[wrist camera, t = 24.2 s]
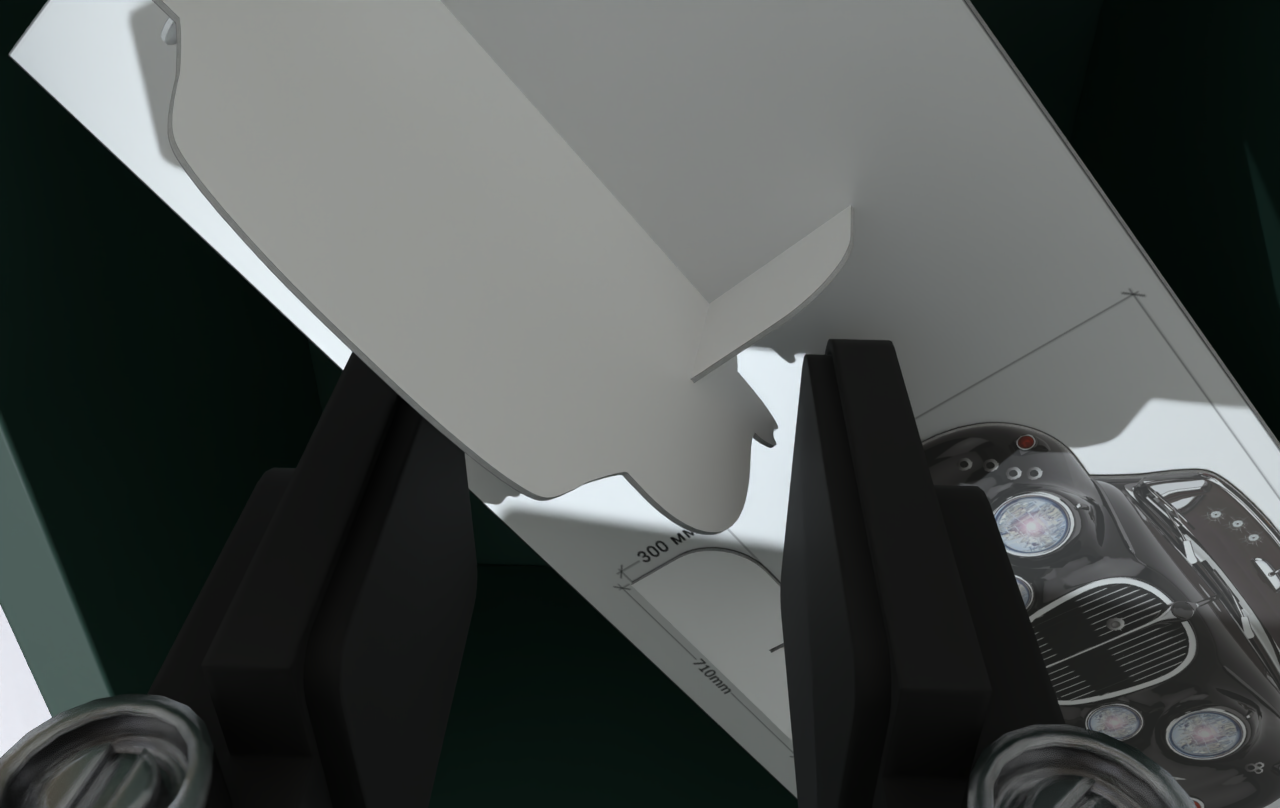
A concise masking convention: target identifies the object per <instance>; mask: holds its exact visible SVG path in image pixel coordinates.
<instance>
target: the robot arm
mask: <svg viewBox="0 0 1280 808" xmlns="http://www.w3.org/2000/svg"><path fill="white" fill-rule="evenodd" d="M476 591H477V559H476V550H475V541H474V532H473V523H472V514H471V505H470V496H469V488H468V479H467V470H466V461H465V452H463V451H462V450H461V449H460V448H459V447H457V446H456V445H455V444H454V443H453V442H451V441H450V440H449V439H448V438H447V437H445V436H444V435H443V434H442V433H441V432H439V431H438V430H437V429H436V428H435V427H434V426H433V425H431V424H430V423H429V422H428V421H427V420H426V419H425V418H423V417H422V416H421V415H420V414H419V413H418V412H417V411H416V410H414V409H413V408H412V407H411V406H410V405H409V404H408V403H407V402H406V401H405V400H404V399H402V398H401V397H400V396H399V395H398V394H397V393H396V392H395V391H394V390H393V389H392V388H390V387H389V386H388V385H387V384H386V383H385V382H384V381H383V380H382V379H381V378H380V377H379V376H378V375H377V374H376V373H374V372H373V371H372V370H371V369H370V368H369V367H368V366H367V365H366V364H365V363H364V362H363V361H362V360H361V359H360V358H359V357H358V356H357V355H356V354H354V353H353V352H352V353H351V355H350V357H349V359H348V362H347V364H346V366H345V368H344V370H343V372H342V374H341V376H340V378H339V380H338V382H337V384H336V386H335V388H334V391H333V393H332V395H331V397H330V399H329V401H328V403H327V405H326V407H325V409H324V411H323V413H322V415H321V417H320V420H319V422H318V424H317V426H316V428H315V430H314V432H313V434H312V436H311V438H310V440H309V442H308V444H307V446H306V448H305V451H304V453H303V455H302V457H301V459H300V461H299V463H298V465H297V467H296V468H272V469H270V470H268V471H266V472H265V473H264V474H263V476H262V477H261V478H260V480H259V481H258V483H257V484H256V486H255V488H254V490H253V492H252V494H251V496H250V498H249V500H248V501H247V503H246V505H245V507H244V509H243V511H242V513H241V515H240V517H239V519H238V521H237V523H236V524H235V526H234V528H233V530H232V532H231V534H230V536H229V538H228V540H227V542H226V544H225V546H224V548H223V549H222V551H221V553H220V555H219V557H218V559H217V561H216V563H215V565H214V567H213V569H212V571H211V572H210V574H209V576H208V578H207V580H206V582H205V584H204V586H203V588H202V590H201V592H200V594H199V596H198V597H197V599H196V601H195V603H194V605H193V607H192V609H191V611H190V613H189V615H188V617H187V619H186V620H185V622H184V624H183V626H182V628H181V630H180V632H179V634H178V636H177V638H176V640H175V642H174V643H173V645H172V647H171V649H170V651H169V653H168V655H167V657H166V659H165V661H164V663H163V665H162V667H161V668H160V670H159V672H158V674H157V676H156V678H155V680H154V682H153V684H152V686H151V688H150V690H149V691H148V693H147V694H133V693H129V694H123V695H117V696H111V697H105V698H99V699H95V700H92V701H90V702H87V703H84V704H82V705H79V706H76V707H74V708H71V709H69V710H66V711H63V712H61V713H59V714H57V715H56V716H54V717H52V718H51V719H49V720H48V721H46V722H44V723H43V724H41V725H39V726H38V727H36V728H35V729H33V730H31V731H30V732H28V733H27V734H26V735H25V736H23V737H22V738H21V739H20V740H19V741H18V742H17V743H16V744H15V745H14V746H13V747H12V748H10V749H9V750H8V751H7V752H6V753H5V754H4V755H3V756H2V757H1V758H0V808H428V806H429V802H430V797H431V793H432V789H433V784H434V780H435V775H436V771H437V767H438V762H439V758H440V754H441V749H442V745H443V740H444V736H445V732H446V727H447V723H448V718H449V714H450V710H451V705H452V701H453V697H454V692H455V688H456V683H457V679H458V675H459V670H460V666H461V661H462V657H463V653H464V648H465V644H466V640H467V635H468V631H469V626H470V622H471V618H472V613H473V609H474V604H475V599H476ZM780 603H781V619H782V630H783V641H784V653H785V664H786V675H787V686H788V697H789V709H790V720H791V731H792V742H793V754H794V765H795V776H796V787H797V798H798V808H1197V807H1196V805H1195V803H1194V801H1193V800H1192V799H1191V798H1190V796H1189V795H1188V794H1187V793H1186V792H1185V791H1184V789H1183V788H1182V787H1181V786H1180V785H1179V784H1178V782H1177V781H1176V780H1175V779H1174V778H1173V777H1172V775H1171V774H1170V773H1169V772H1168V771H1166V770H1165V769H1164V768H1162V767H1161V766H1160V765H1158V764H1157V763H1156V762H1154V761H1153V760H1152V759H1150V758H1149V757H1148V756H1146V755H1145V754H1144V753H1142V752H1141V751H1140V750H1138V749H1137V748H1134V747H1132V746H1130V745H1128V744H1126V743H1124V742H1122V741H1119V740H1117V739H1115V738H1113V737H1111V736H1109V735H1107V734H1105V733H1102V732H1098V731H1093V730H1089V729H1085V728H1081V727H1076V726H1072V725H1068V724H1066V723H1065V720H1064V717H1063V714H1062V712H1061V709H1060V706H1059V703H1058V700H1057V697H1056V694H1055V691H1054V688H1053V685H1052V682H1051V680H1050V677H1049V674H1048V671H1047V668H1046V665H1045V662H1044V659H1043V656H1042V653H1041V650H1040V648H1039V645H1038V642H1037V639H1036V636H1035V633H1034V630H1033V627H1032V624H1031V621H1030V619H1029V616H1028V613H1027V610H1026V607H1025V604H1024V601H1023V598H1022V595H1021V592H1020V589H1019V587H1018V584H1017V581H1016V578H1015V575H1014V572H1013V569H1012V566H1011V563H1010V560H1009V557H1008V555H1007V552H1006V549H1005V546H1004V543H1003V540H1002V537H1001V534H1000V531H999V528H998V526H997V523H996V520H995V517H994V514H993V511H992V508H991V505H990V502H989V500H988V498H987V496H986V494H985V492H984V491H983V490H982V489H981V488H980V487H978V486H956V485H934V484H933V481H932V477H931V474H930V470H929V467H928V463H927V460H926V456H925V453H924V449H923V446H922V442H921V438H920V435H919V431H918V428H917V424H916V421H915V417H914V414H913V410H912V407H911V403H910V400H909V396H908V393H907V389H906V386H905V382H904V379H903V375H902V372H901V368H900V365H899V361H898V358H897V354H896V351H895V347H894V345H893V343H892V341H890V340H860V339H829V340H828V342H827V346H826V350H825V355H818V354H805V356H804V359H803V364H802V372H801V382H800V392H799V402H798V412H797V422H796V431H795V441H794V451H793V461H792V471H791V481H790V490H789V500H788V510H787V520H786V530H785V540H784V549H783V559H782V569H781V585H780Z"/></svg>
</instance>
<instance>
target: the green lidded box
mask: <svg viewBox="0 0 1280 808" xmlns="http://www.w3.org/2000/svg"><path fill="white" fill-rule="evenodd" d="M970 1H971V3H972V4H973V6H974V7H975V9H976V10H977V11H978V13H979V14H980V16H981V17H982V19H983V20H984V21H985V23H986V24H987V26H988V27H989V29H990V30H991V31H992V33H993V34H994V36H995V37H996V39H997V40H998V41H999V43H1000V44H1001V46H1002V47H1003V49H1004V50H1005V51H1006V53H1007V54H1008V56H1009V57H1010V59H1011V60H1012V61H1013V63H1014V64H1015V66H1016V67H1017V69H1018V70H1019V71H1020V73H1021V74H1022V76H1023V77H1024V79H1025V80H1026V81H1027V83H1028V84H1029V86H1030V87H1031V89H1032V90H1033V91H1034V93H1035V94H1036V96H1037V97H1038V99H1039V100H1040V101H1041V103H1042V104H1043V106H1044V107H1045V109H1046V110H1047V111H1048V113H1049V114H1050V116H1051V117H1052V119H1053V120H1054V121H1055V123H1056V124H1057V126H1058V127H1059V129H1060V130H1061V131H1062V133H1063V134H1064V136H1065V137H1066V139H1067V140H1068V141H1069V143H1070V144H1071V146H1072V147H1073V149H1074V150H1075V151H1076V153H1077V154H1078V156H1079V157H1080V159H1081V160H1082V161H1083V163H1084V164H1085V166H1086V167H1087V169H1088V170H1089V171H1090V173H1091V174H1092V176H1093V177H1094V179H1095V180H1096V181H1097V183H1098V184H1099V186H1100V187H1101V189H1102V190H1103V191H1104V193H1105V194H1106V196H1107V197H1108V199H1109V200H1110V201H1111V203H1112V204H1113V206H1114V207H1115V209H1116V210H1117V211H1118V213H1119V214H1120V216H1121V217H1122V219H1123V220H1124V221H1125V223H1126V224H1127V226H1128V227H1129V229H1130V230H1131V231H1132V233H1133V234H1134V236H1135V237H1136V239H1137V240H1138V241H1139V243H1140V244H1141V246H1142V247H1143V249H1144V250H1145V251H1146V253H1147V254H1148V256H1149V257H1150V259H1151V260H1152V261H1153V263H1154V264H1155V266H1156V267H1157V269H1158V270H1159V271H1160V273H1161V274H1162V276H1163V277H1164V279H1165V280H1166V281H1167V283H1168V284H1169V286H1170V287H1171V289H1172V290H1173V291H1174V293H1175V294H1176V296H1177V297H1178V299H1179V300H1180V301H1181V303H1182V304H1183V306H1184V307H1185V309H1186V310H1187V311H1188V313H1189V314H1190V316H1191V317H1192V319H1193V320H1194V321H1195V323H1196V324H1197V326H1198V327H1199V329H1200V330H1201V331H1202V333H1203V334H1204V336H1205V337H1206V339H1207V340H1208V341H1209V343H1210V344H1211V346H1212V347H1213V349H1214V350H1215V351H1216V353H1217V354H1218V356H1219V357H1220V359H1221V360H1222V361H1223V363H1224V364H1225V366H1226V367H1227V369H1228V370H1229V371H1230V373H1231V374H1232V376H1233V377H1234V379H1235V380H1236V381H1237V383H1238V384H1239V386H1240V387H1241V389H1242V390H1243V391H1244V393H1245V394H1246V396H1247V397H1248V399H1249V400H1250V401H1251V403H1252V404H1253V406H1254V407H1255V409H1256V410H1257V411H1258V413H1259V414H1260V416H1261V417H1262V419H1263V420H1264V421H1265V423H1266V424H1267V426H1268V427H1269V429H1270V430H1271V431H1272V433H1273V434H1274V436H1275V437H1276V439H1277V440H1278V441H1279V443H1280V0H970ZM46 2H47V0H0V605H1V607H2V609H3V611H4V613H5V615H6V618H7V620H8V622H9V624H10V626H11V629H12V631H13V633H14V635H15V637H16V639H17V642H18V644H19V646H20V648H21V650H22V653H23V655H24V657H25V659H26V661H27V664H28V666H29V668H30V670H31V672H32V674H33V677H34V679H35V681H36V683H37V685H38V688H39V690H40V692H41V694H42V696H43V698H44V701H45V703H46V705H47V707H48V709H49V712H50V714H51V716H52V717H54V716H56V715H57V714H59V713H61V712H63V711H66V710H69V709H71V708H74V707H76V706H79V705H82V704H84V703H87V702H90V701H92V700H95V699H99V698H105V697H111V696H117V695H123V694H129V693H133V694H147V693H148V691H149V690H150V688H151V686H152V684H153V682H154V680H155V678H156V676H157V674H158V672H159V670H160V668H161V667H162V665H163V663H164V661H165V659H166V657H167V655H168V653H169V651H170V649H171V647H172V645H173V643H174V642H175V640H176V638H177V636H178V634H179V632H180V630H181V628H182V626H183V624H184V622H185V620H186V619H187V617H188V615H189V613H190V611H191V609H192V607H193V605H194V603H195V601H196V599H197V597H198V596H199V594H200V592H201V590H202V588H203V586H204V584H205V582H206V580H207V578H208V576H209V574H210V572H211V571H212V569H213V567H214V565H215V563H216V561H217V559H218V557H219V555H220V553H221V551H222V549H223V548H224V546H225V544H226V542H227V540H228V538H229V536H230V534H231V532H232V530H233V528H234V526H235V524H236V523H237V521H238V519H239V517H240V515H241V513H242V511H243V509H244V507H245V505H246V503H247V501H248V500H249V498H250V496H251V494H252V492H253V490H254V488H255V486H256V484H257V483H258V481H259V480H260V478H261V477H262V476H263V474H264V473H265V472H266V471H268V470H270V469H272V468H296V467H297V465H298V463H299V461H300V459H301V457H302V455H303V453H304V451H305V448H306V446H307V444H308V442H309V440H310V438H311V436H312V434H313V432H314V430H315V428H316V426H317V424H318V422H319V420H320V417H321V415H322V413H323V411H324V409H325V407H326V405H327V403H328V401H329V399H330V397H331V395H332V393H333V391H334V388H335V386H336V384H337V382H338V380H339V378H340V376H341V374H342V372H343V371H342V370H341V369H340V368H339V367H338V366H337V365H336V364H334V363H333V362H332V361H331V360H330V359H329V358H328V357H327V356H326V355H325V354H324V353H323V352H322V351H321V350H320V349H319V348H318V347H316V346H315V345H314V344H313V343H312V342H311V341H310V340H309V339H308V338H307V337H306V336H305V335H304V334H303V333H302V332H301V331H299V330H298V329H297V328H296V327H295V326H294V325H293V324H292V323H291V322H290V321H289V320H288V319H287V318H286V317H285V316H284V315H283V314H281V313H280V312H279V311H278V310H277V309H276V308H275V307H274V306H273V305H272V304H271V303H270V302H269V301H268V300H267V299H266V298H264V297H263V296H262V295H261V294H260V293H259V292H258V291H257V290H256V289H255V288H254V287H253V286H252V285H251V284H250V283H249V282H248V281H246V280H245V279H244V278H243V277H242V276H241V275H240V274H239V273H238V272H237V271H236V270H235V269H234V268H233V267H232V266H231V265H229V264H228V263H227V262H226V261H225V260H224V259H223V258H222V257H221V256H220V255H219V254H218V253H217V252H216V251H215V250H214V249H213V248H211V247H210V246H209V245H208V244H207V243H206V242H205V241H204V240H203V239H202V238H201V237H200V236H199V235H198V234H197V233H196V232H194V231H193V230H192V229H191V228H190V227H189V226H188V225H187V224H186V223H185V222H184V221H183V220H182V219H181V218H180V217H179V216H178V215H176V214H175V213H174V212H173V211H172V210H171V209H170V208H169V207H168V206H167V205H166V204H165V203H164V202H163V201H162V200H161V199H160V198H158V197H157V196H156V195H155V194H154V193H153V192H152V191H151V190H150V189H149V188H148V187H147V186H146V185H145V184H144V183H143V182H141V181H140V180H139V179H138V178H137V177H136V176H135V175H134V174H133V173H132V172H131V171H130V170H129V169H128V168H127V167H126V166H125V165H123V164H122V163H121V162H120V161H119V160H118V159H117V158H116V157H115V156H114V155H113V154H112V153H111V152H110V151H109V150H108V149H106V148H105V147H104V146H103V145H102V144H101V143H100V142H99V141H98V140H97V139H96V138H95V137H94V136H93V135H92V134H91V133H90V132H88V131H87V130H86V129H85V128H84V127H83V126H82V125H81V124H80V123H79V122H78V121H77V120H76V119H75V118H74V117H73V116H71V115H70V114H69V113H68V112H67V111H66V110H65V109H64V108H63V107H62V106H61V105H60V104H59V103H58V102H57V101H56V100H55V99H53V98H52V97H51V96H50V95H49V94H48V93H47V92H46V91H45V90H44V89H43V88H42V87H41V86H40V85H39V84H38V83H37V82H35V81H34V80H33V79H32V78H31V77H30V76H29V75H28V74H27V73H26V72H25V71H24V70H23V69H22V68H21V67H20V66H18V65H17V64H16V63H15V62H14V61H13V60H12V59H11V58H10V57H9V56H8V54H9V52H10V51H11V49H12V48H13V47H14V45H15V44H16V43H17V41H18V40H19V39H20V37H21V36H22V34H23V33H24V32H25V30H26V29H27V28H28V26H29V25H30V24H31V22H32V21H33V19H34V18H35V17H36V15H37V14H38V13H39V11H40V10H41V9H42V7H43V6H44V4H45V3H46ZM469 496H470V505H471V514H472V523H473V532H474V541H475V550H476V559H477V591H476V599H475V604H474V609H473V613H472V618H471V622H470V626H469V631H468V635H467V640H466V644H465V648H464V653H463V657H462V661H461V666H460V670H459V675H458V679H457V683H456V688H455V692H454V697H453V701H452V705H451V710H450V714H449V718H448V723H447V727H446V732H445V736H444V740H443V745H442V749H441V754H440V758H439V762H438V767H437V771H436V775H435V780H434V784H433V789H432V793H431V797H430V802H429V806H428V808H798V800H797V799H796V798H795V797H794V796H793V795H791V794H790V793H789V792H788V791H787V790H786V789H785V788H784V787H783V786H782V785H781V784H780V783H779V782H778V781H777V780H776V779H775V778H773V777H772V776H771V775H770V774H769V773H768V772H767V771H766V770H765V769H764V768H763V767H762V766H761V765H760V764H759V763H758V762H756V761H755V760H754V759H753V758H752V757H751V756H750V755H749V754H748V753H747V752H746V751H745V750H744V749H743V748H742V747H741V746H740V745H738V744H737V743H736V742H735V741H734V740H733V739H732V738H731V737H730V736H729V735H728V734H727V733H726V732H725V731H724V730H723V729H722V728H720V727H719V726H718V725H717V724H716V723H715V722H714V721H713V720H712V719H711V718H710V717H709V716H708V715H707V714H706V713H705V712H703V711H702V710H701V709H700V708H699V707H698V706H697V705H696V704H695V703H694V702H693V701H692V700H691V699H690V698H689V697H688V696H687V695H685V694H684V693H683V692H682V691H681V690H680V689H679V688H678V687H677V686H676V685H675V684H674V683H673V682H672V681H671V680H670V679H668V678H667V677H666V676H665V675H664V674H663V673H662V672H661V671H660V670H659V669H658V668H657V667H656V666H655V665H654V664H653V663H652V662H650V661H649V660H648V659H647V658H646V657H645V656H644V655H643V654H642V653H641V652H640V651H639V650H638V649H637V648H636V647H635V646H633V645H632V644H631V643H630V642H629V641H628V640H627V639H626V638H625V637H624V636H623V635H622V634H621V633H620V632H619V631H618V630H617V629H615V628H614V627H613V626H612V625H611V624H610V623H609V622H608V621H607V620H606V619H605V618H604V617H603V616H602V615H601V614H600V613H598V612H597V611H596V610H595V609H594V608H593V607H592V606H591V605H590V604H589V603H588V602H587V601H586V600H585V599H584V598H583V597H582V596H580V595H579V594H578V593H577V592H576V591H575V590H574V589H573V588H572V587H571V586H570V585H569V584H568V583H567V582H566V581H565V580H564V579H562V578H561V577H560V576H559V575H558V574H557V573H556V572H555V571H554V570H553V569H552V568H551V567H550V566H549V565H548V564H547V563H545V562H544V561H543V560H542V559H541V558H540V557H539V556H538V555H537V554H536V553H535V552H534V551H533V550H532V549H531V548H530V547H529V546H527V545H526V544H525V543H524V542H523V541H522V540H521V539H520V538H519V537H518V536H517V535H516V534H515V533H514V532H513V531H512V530H510V529H509V528H508V527H507V526H506V525H505V524H504V523H503V522H502V521H501V520H500V519H499V518H498V517H497V516H496V515H495V514H494V513H492V512H491V511H490V510H489V509H488V508H487V507H486V506H485V505H484V504H483V503H482V502H481V501H480V500H479V499H478V498H477V497H475V496H474V495H473V494H472V493H471V492H470V491H469Z"/></svg>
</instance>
